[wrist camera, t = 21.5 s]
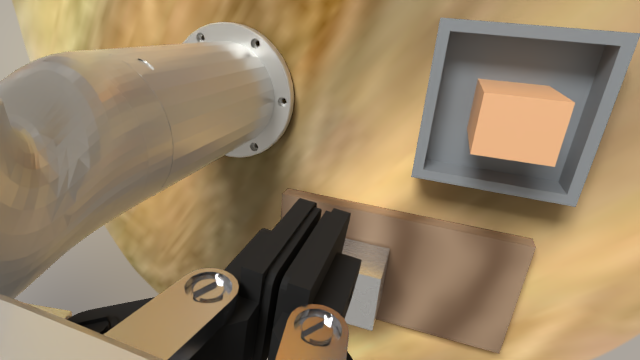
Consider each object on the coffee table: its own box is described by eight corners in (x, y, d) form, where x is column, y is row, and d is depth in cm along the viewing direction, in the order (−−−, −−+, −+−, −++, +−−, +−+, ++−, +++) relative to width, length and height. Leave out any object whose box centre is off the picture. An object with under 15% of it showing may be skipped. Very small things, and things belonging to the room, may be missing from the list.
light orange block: (466, 128, 32) (470, 154, 25) (477, 78, 30) (484, 92, 24) (534, 137, 30) (554, 166, 24) (549, 85, 29) (575, 102, 23)
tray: (415, 163, 35) (411, 176, 32) (441, 18, 30) (440, 17, 27) (563, 189, 32) (575, 206, 29) (619, 32, 27) (640, 33, 24)
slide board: (283, 283, 44) (264, 312, 40) (287, 188, 40) (267, 208, 35) (497, 342, 39) (503, 383, 34) (532, 238, 34) (544, 270, 30)
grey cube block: (324, 281, 40) (308, 312, 36) (329, 234, 38) (312, 261, 34) (381, 296, 39) (372, 330, 34) (389, 248, 37) (381, 279, 32)
